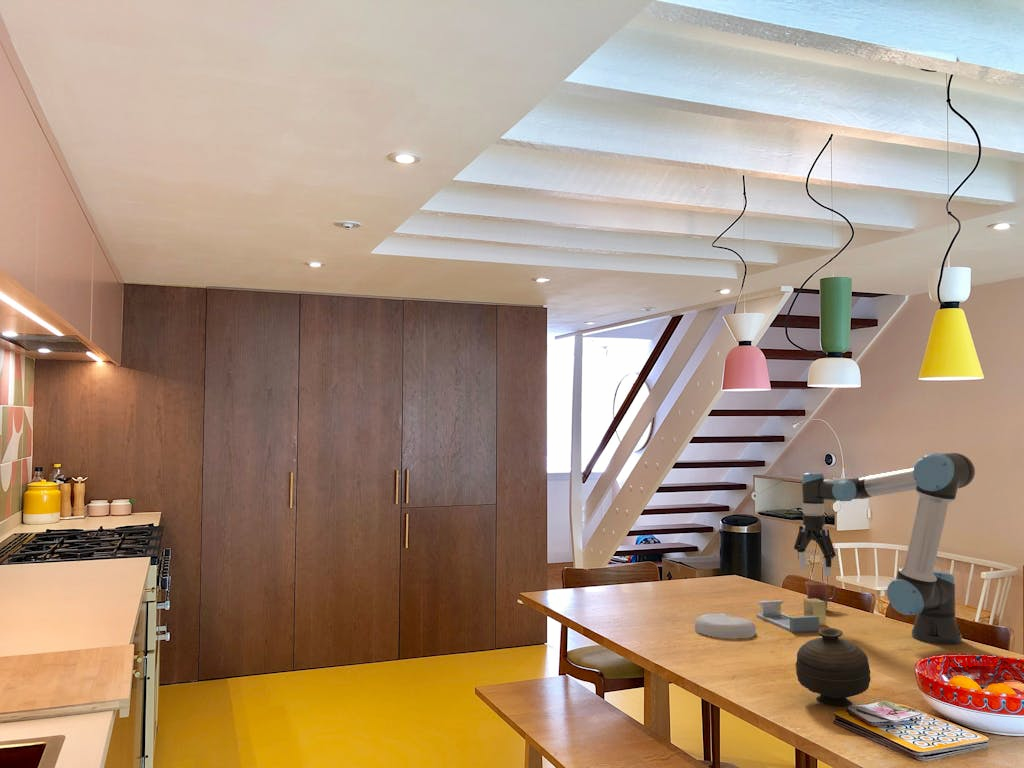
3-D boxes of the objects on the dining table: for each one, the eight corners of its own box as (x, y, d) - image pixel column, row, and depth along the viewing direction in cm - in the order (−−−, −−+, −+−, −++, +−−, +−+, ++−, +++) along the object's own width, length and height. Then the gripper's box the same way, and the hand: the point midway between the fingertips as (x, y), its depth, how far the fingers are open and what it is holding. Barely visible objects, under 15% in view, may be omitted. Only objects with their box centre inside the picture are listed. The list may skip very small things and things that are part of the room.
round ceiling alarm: (675, 630, 296) (675, 612, 296) (739, 625, 302) (738, 608, 302) (709, 648, 271) (709, 629, 272) (777, 643, 277) (777, 624, 278)
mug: (808, 611, 323) (808, 585, 323) (803, 606, 332) (802, 580, 332) (840, 612, 322) (840, 585, 322) (834, 607, 330) (833, 581, 331)
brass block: (825, 627, 298) (825, 601, 299) (813, 627, 297) (813, 602, 297) (816, 623, 304) (815, 598, 304) (804, 624, 303) (803, 599, 303)
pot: (801, 718, 205) (799, 636, 206) (791, 695, 222) (790, 620, 223) (878, 724, 201) (876, 640, 202) (863, 700, 218) (861, 623, 219)
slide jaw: (783, 615, 309) (783, 601, 310) (760, 616, 307) (760, 602, 308) (780, 614, 311) (780, 600, 312) (758, 615, 309) (757, 601, 310)
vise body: (819, 634, 287) (818, 616, 288) (793, 636, 285) (792, 618, 286) (780, 618, 312) (780, 601, 312) (756, 619, 310) (756, 603, 310)
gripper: (845, 517, 296) (846, 577, 295) (800, 511, 320) (801, 566, 319) (827, 518, 294) (829, 579, 293) (783, 511, 317) (784, 567, 316)
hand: (814, 572), depth 306 cm, fingers open, 13 cm apart
